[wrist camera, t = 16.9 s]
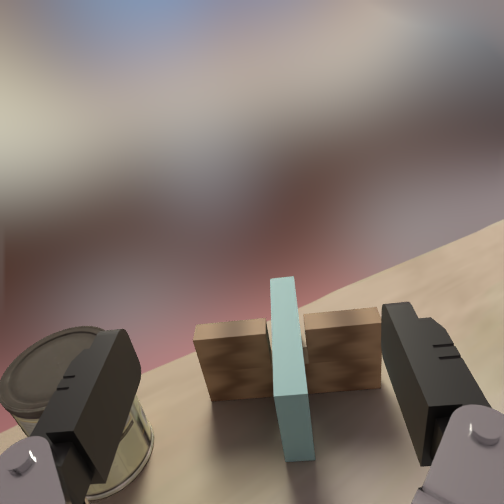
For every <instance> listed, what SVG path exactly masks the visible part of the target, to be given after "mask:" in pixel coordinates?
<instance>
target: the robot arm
mask: <svg viewBox="0 0 504 504" xmlns="http://www.w3.org/2000/svg"><path fill="white" fill-rule="evenodd" d="M381 350H382V356H383V360H384V363H385V366H386V369H387V372H388V375H389V377H390V380H391V383H392V386H393V389H394V392H395V394H396V397H397V400H398V403H399V406H400V409H401V412H402V414H403V417H404V420H405V423H406V426H407V429H408V432H409V434H410V437H411V440H412V443H413V446H414V449H415V451H416V454H417V457H418V460H419V463H420V466H431V467H430V470H429V472H428V474H427V477H426V479H425V482H424V484H423V486H422V487H420V488H419V489H418V490H417V492H416V494H415V496H414V498H413V500H412V503H411V504H504V414H502V413H500V412H499V411H497V410H494V409H492V407H491V406H490V404H489V403H488V401H487V400H486V398H485V396H484V395H483V393H482V391H481V389H480V388H479V386H478V384H477V383H476V381H475V379H474V377H473V376H472V374H471V372H470V371H469V369H468V367H467V365H466V364H465V362H464V360H463V359H462V358H461V356H460V353H459V352H458V350H457V348H456V347H455V346H454V343H453V341H452V340H451V338H450V336H449V335H448V333H447V331H446V329H445V328H443V327H442V326H441V325H440V324H438V323H437V322H436V321H435V320H433V319H432V318H431V317H430V318H418V317H417V315H416V313H415V311H414V309H413V307H412V305H411V303H410V302H401V303H390V304H383V305H382V318H381ZM140 379H141V366H140V362H139V360H138V357H137V355H136V352H135V350H134V348H133V345H132V343H131V340H130V338H129V335H128V333H127V332H126V330H124V329H117V330H107V331H100V332H98V334H97V335H96V337H95V339H94V341H93V343H92V345H91V346H90V348H89V349H84V350H83V351H82V352H81V353H80V354H78V355H77V356H76V357H75V358H74V359H73V360H72V361H71V363H70V365H69V366H68V368H67V370H66V372H65V374H64V375H63V379H61V381H60V383H59V384H58V386H57V390H56V391H55V392H54V393H53V395H52V397H51V399H50V401H49V402H48V404H47V406H46V408H45V410H44V411H43V413H42V415H41V417H40V419H39V420H38V422H37V424H36V426H35V428H34V429H33V431H32V433H31V435H30V436H29V437H27V438H25V439H22V440H20V441H18V442H16V443H15V444H13V445H12V446H10V447H9V448H8V449H7V450H5V451H4V452H3V453H2V454H1V456H0V504H89V501H88V499H87V498H86V494H87V492H88V489H89V486H90V484H106V481H107V478H108V475H109V472H110V469H111V466H112V463H113V460H114V457H115V454H116V451H117V448H118V446H119V443H120V440H121V437H122V434H123V431H124V428H125V425H126V422H127V419H128V416H129V413H130V410H131V407H132V404H133V401H134V398H135V395H136V392H137V389H138V386H139V383H140Z"/></svg>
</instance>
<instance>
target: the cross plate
mask: <svg viewBox="0 0 504 504" xmlns="http://www.w3.org/2000/svg"><path fill="white" fill-rule="evenodd" d="M270 286H271V287H270V288H271V323H272V357H273V391H274V401H275V407H276V412H277V418H278V423H279V429H280V434H281V440H282V445H283V451H284V456H285V462H294V461H310V460H315V452H314V443H313V434H312V426H311V417H310V408H309V399H308V391H307V382H306V374H305V366H304V358H303V349H302V341H301V333H300V324H299V316H298V308H297V300H296V291H295V283H294V277H284V278H275V279H270Z"/></svg>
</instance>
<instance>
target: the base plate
mask: <svg viewBox="0 0 504 504" xmlns="http://www.w3.org/2000/svg"><path fill="white" fill-rule="evenodd" d="M303 316H304V325H305V335H306V344H307V347H304V348H302V349H303V358H304V366H305V374H306V382H307V391H308V394H313V393H325V392H338V391H351V390H364V389H376V388H381V359H382V350H381V317H380V315H379V312H378V310H377V307H373V308H362V309H352V310H342V311H332V312H322V313H312V314H303ZM193 342H194V346H195V349H196V352H197V356H198V359H199V362H200V365H201V369H202V372H203V375H204V379H205V382H206V385H207V388H208V392H209V395H210V398H211V401H223V400H236V399H249V398H261V397H274V391H273V357H272V350H271V347H270V341H269V335H268V330H267V324H266V318H261V319H252V320H240V321H231V322H220V323H210V324H200V325H196V328H195V333H194V338H193Z"/></svg>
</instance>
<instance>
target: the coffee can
mask: <svg viewBox="0 0 504 504" xmlns="http://www.w3.org/2000/svg"><path fill="white" fill-rule="evenodd" d="M100 331H105V330H103V329H101V328H98V327H93V326H80V327H74V328H69V329H65V330H62V331H59V332H56V333H54V334H52V335H49V336H47V337H45V338H43V339H41V340H40V341H38V342H36V343H35V344H33V345H32V346H30V347H29V348H27V349H26V350H25V351H24V352H23V353H21V354H20V355H19V356H18V357H17V358H16V359H15V360H14V361H13V362H12V363H11V364H10V365H9V367H8V368H7V369H6V371H5V373H4V374H3V376H2V378H1V380H0V403H1V404H2V406H3V407H4V408H5V409H6V410H7V411H8V412H10V414H11V415H12V416H13V418H14V419H15V420H16V422H17V423H18V425H19V426H20V427H21V429H22V430H23V432H24V433H25V434H26V435H27V437H29V436H30V435H31V433H32V431H33V429H34V428H35V426H36V424H37V422H38V420H39V419H40V417H41V415H42V413H43V411H44V410H45V408H46V406H47V404H48V402H49V401H50V399H51V397H52V395H53V393H54V392H55V391H56V390H57V386H58V384H59V383H60V381H61V379H63V375H64V374H65V372H66V370H67V368H68V366H69V365H70V363H71V361H72V360H73V359H74V358H75V357H76V356H77V355H78V354H80V353H81V352H82V351H83V350H84V349H89V348H90V346H91V345H92V343H93V341H94V339H95V337H96V335H97V334H98V332H100ZM153 442H154V435H153V430H152V427H151V425H150V423H149V421H148V420H147V418H146V415H145V413H144V411H143V409H142V407H141V404H140V402H139V400H138V398H137V396H136V395H135V398H134V401H133V404H132V407H131V410H130V413H129V416H128V419H127V422H126V425H125V428H124V431H123V434H122V437H121V440H120V443H119V446H118V448H117V451H116V454H115V457H114V460H113V463H112V466H111V469H110V472H109V475H108V478H107V481H106V484H90V486H89V489H88V492H87V494H86V498H87V499H88V500H97V499H102V498H105V497H108V496H110V495H112V494H114V493H116V492H118V491H120V490H121V489H123V488H124V487H125V486H127V485H128V484H129V483H130V482H131V481H132V480H133V479H134V478H135V477H136V476H137V475H138V474H139V473H140V472H141V471H142V469H143V467H144V466H145V464H146V463H147V461H148V459H149V457H150V454H151V452H152V448H153Z"/></svg>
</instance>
